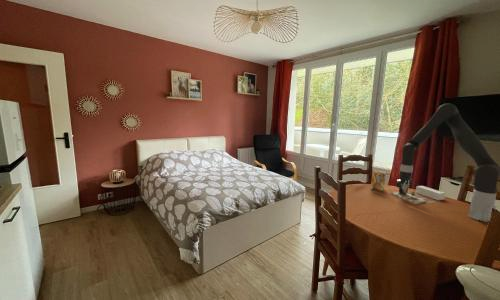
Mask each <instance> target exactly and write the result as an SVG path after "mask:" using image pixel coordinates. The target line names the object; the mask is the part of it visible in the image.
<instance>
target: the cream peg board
mask: <svg viewBox="0 0 500 300" xmlns="http://www.w3.org/2000/svg"><path fill="white" fill-rule="evenodd" d="M390 194H391V195H392V196H393V197H396V198H398V199H402V200H404V201H405V202H408V203H411V204H413V205H417V204H425V203H427V202H426V200H423V199H421V198H418V197H415V196H413V195H410V194H407V193H406V195H402V194H400V193H399V191H395V192H393V191H392V192H391V193H390Z"/></svg>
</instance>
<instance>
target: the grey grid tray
mask: <svg viewBox="0 0 500 300" xmlns="http://www.w3.org/2000/svg"><path fill="white" fill-rule="evenodd" d="M407 194H410V195H413V196H415V197H418V198H421V199H423V200H426V203H427V204H431V203H432V204H433V203H436V201H435V200H432V199H431V198H430V199H429V198H428V197H425V196H424V197H423V196H422V195H418V194H417V193H416V190H415V191H414V190H411V192H410V191H408V192H407Z"/></svg>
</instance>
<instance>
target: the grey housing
mask: <svg viewBox="0 0 500 300" xmlns="http://www.w3.org/2000/svg"><path fill="white" fill-rule="evenodd" d="M415 194H419V195H420V196H424V197H426V198H430V199H434V200H436V201H442V200H445V196H446V192H443V191H440V190H437V189H435V188H434V189H433V188H432V187H428V186H424V185H417V186H416V187H415Z"/></svg>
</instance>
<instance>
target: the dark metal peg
mask: <svg viewBox="0 0 500 300" xmlns="http://www.w3.org/2000/svg"><path fill="white" fill-rule="evenodd" d="M402 185H403V184H402ZM402 185H401V187H402ZM407 185H408V184H405V186H404V187H403V193H402V196H404V195H406V192H407ZM400 194H401V193H400Z"/></svg>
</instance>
